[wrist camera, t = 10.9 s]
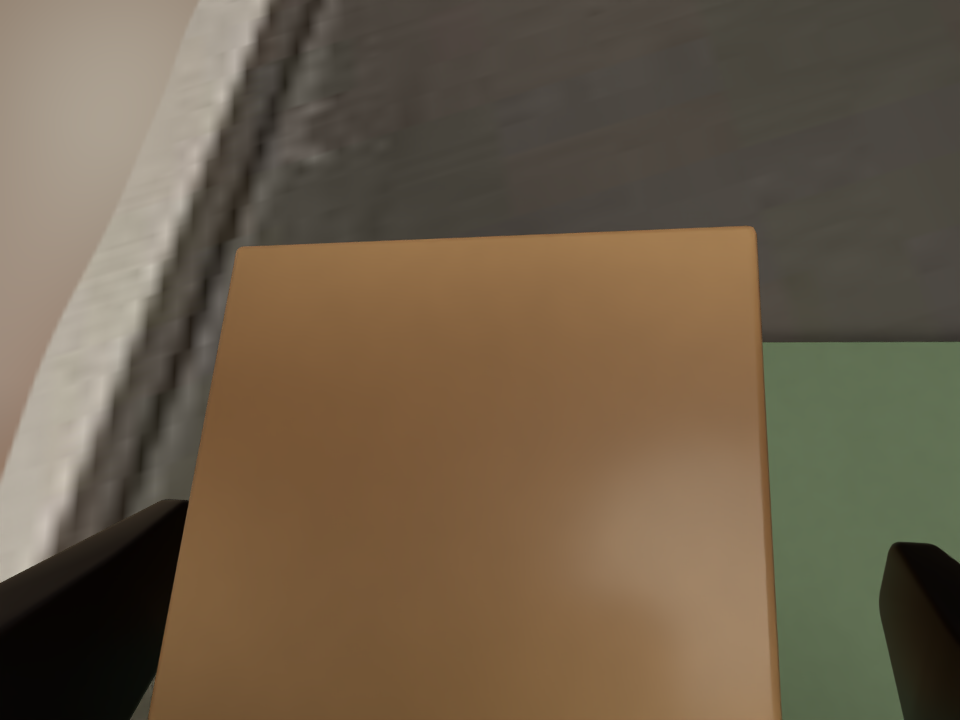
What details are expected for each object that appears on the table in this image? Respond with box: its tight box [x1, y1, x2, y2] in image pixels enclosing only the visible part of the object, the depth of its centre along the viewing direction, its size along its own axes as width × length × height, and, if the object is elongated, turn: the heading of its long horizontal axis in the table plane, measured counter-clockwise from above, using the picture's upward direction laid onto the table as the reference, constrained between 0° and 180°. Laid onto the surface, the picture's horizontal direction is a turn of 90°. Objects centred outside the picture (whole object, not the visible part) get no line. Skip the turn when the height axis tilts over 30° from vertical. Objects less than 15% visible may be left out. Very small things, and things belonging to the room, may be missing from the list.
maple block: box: [148, 226, 782, 720], centre depth 12 cm, size 5×6×12 cm
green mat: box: [762, 342, 960, 720], centre depth 18 cm, size 15×20×1 cm
